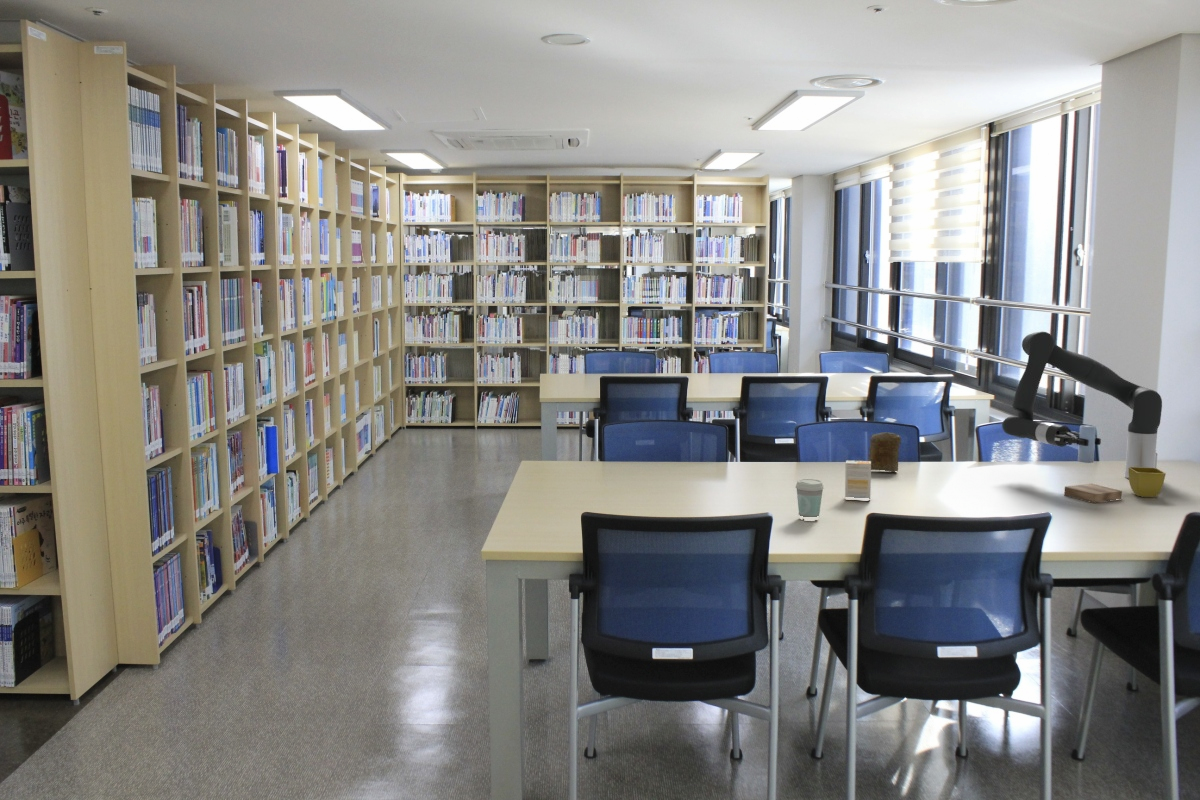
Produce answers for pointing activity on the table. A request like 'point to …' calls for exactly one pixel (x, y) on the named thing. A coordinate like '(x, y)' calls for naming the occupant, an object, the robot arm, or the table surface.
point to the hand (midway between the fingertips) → (1093, 442)
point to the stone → (884, 451)
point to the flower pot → (1146, 481)
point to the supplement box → (858, 479)
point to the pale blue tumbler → (1088, 451)
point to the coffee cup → (809, 497)
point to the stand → (1092, 493)
